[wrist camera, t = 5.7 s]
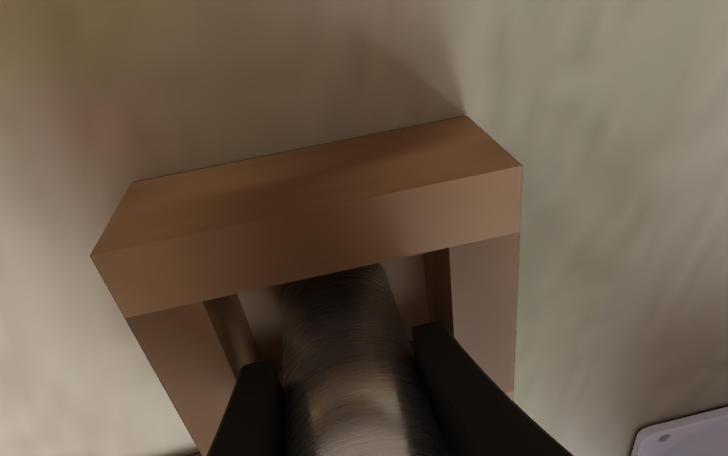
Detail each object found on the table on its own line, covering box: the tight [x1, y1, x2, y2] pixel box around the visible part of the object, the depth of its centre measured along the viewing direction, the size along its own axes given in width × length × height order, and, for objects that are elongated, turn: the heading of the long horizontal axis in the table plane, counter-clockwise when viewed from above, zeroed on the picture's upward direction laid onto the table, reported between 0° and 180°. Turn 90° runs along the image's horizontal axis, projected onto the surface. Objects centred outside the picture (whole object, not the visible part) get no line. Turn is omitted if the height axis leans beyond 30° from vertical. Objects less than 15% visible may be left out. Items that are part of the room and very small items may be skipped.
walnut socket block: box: [90, 116, 523, 456], centre depth 12 cm, size 8×8×3 cm
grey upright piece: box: [280, 263, 448, 456], centre depth 9 cm, size 3×5×9 cm, turn 10°
